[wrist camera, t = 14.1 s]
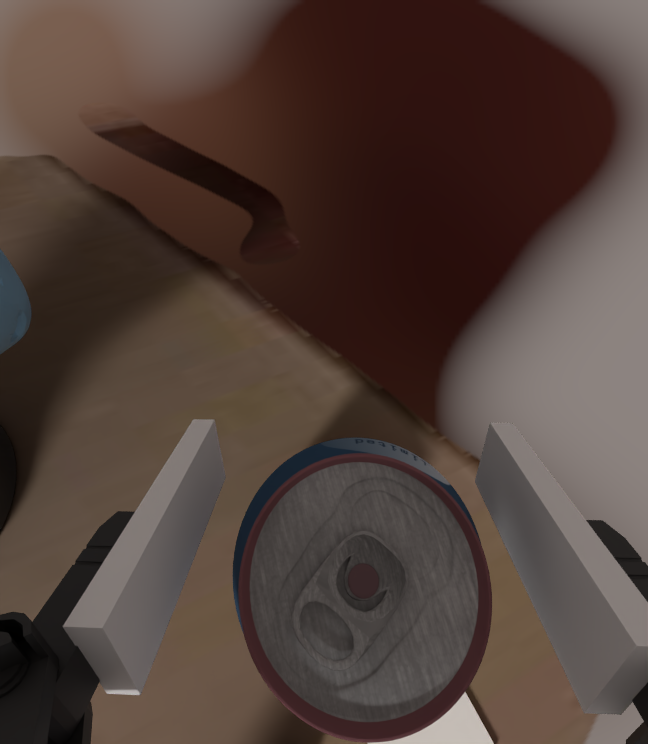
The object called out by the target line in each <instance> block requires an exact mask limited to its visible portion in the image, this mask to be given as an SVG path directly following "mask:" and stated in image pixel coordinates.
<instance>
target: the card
mask: <svg viewBox="0 0 648 744" xmlns="http://www.w3.org/2000/svg"><path fill="white" fill-rule="evenodd" d="M368 744H494V743H493V741H492V739H491V737H490V736H489V734H488V732H487V730H486V728H485V727H484V725H483V723H482V721H481V719H480V718H479V716H478V714H477V712H476V710H475V708H474V707H473V705H472V703H471V701H470V699H469V698H468V696H467V694H466V692H465V693H464V694H463V695H462V696H461V698H460V699H459V700H458V701H457V703H456V704H455V705H454V706H453V707H452V708H451V709H450V710H449V711H448V712H447V713H446V714H444V715H443V716H442V717H441V718H440V719H438V720H437V721H436V722H434V723H433V724H431V725H430V726H428V727H426V728H425V729H423V730H421V731H419V732H417V733H414V734H412V735H410V736H407V737H404V738H401V739H396V740H392V741H386V742H376V743H368Z"/></svg>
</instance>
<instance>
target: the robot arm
mask: <svg viewBox="0 0 648 744" xmlns="http://www.w3.org/2000/svg"><path fill="white" fill-rule="evenodd" d="M30 321H31V305H30V301H29V298H28V295H27V293H26V290H25V288H24V286H23V284H22V282H21V280H20V278H19V276H18V275H17V273H16V271H15V270H14V268H13V266H12V265H11V263H10V262H9V260H8V259H7V258H6V256H5V255H4V253H3V252H2V250H1V249H0V354H2V353H3V352H4V351H6V350H7V349H9V348H10V347H12V346H13V345H14V344H16V343H17V342H18V341H20V340H21V338H22V337H23V336H24V335H25V334H26V332H27V330H28V328H29V326H30ZM225 478H226V477H225V471H224V466H223V461H222V456H221V451H220V445H219V440H218V435H217V430H216V425H215V420H198V419H193V421H192V422H191V424H190V426H189V427H188V429H187V430H186V432H185V434H184V435H183V437H182V438H181V440H180V441H179V443H178V445H177V446H176V448H175V449H174V451H173V453H172V454H171V456H170V457H169V459H168V460H167V462H166V464H165V465H164V467H163V468H162V470H161V472H160V473H159V475H158V476H157V478H156V479H155V481H154V483H153V484H152V486H151V487H150V489H149V491H148V492H147V494H146V495H145V497H144V498H143V500H142V502H141V503H140V505H139V506H138V508H137V510H136V511H135V512H122V511H118V512H117V513H115V514H114V515H113V516H112V517H111V518H110V519H108V520H107V521H106V522H105V523H104V524H103V525H101V526H100V527H99V529H98V530H97V531H96V533H95V534H94V536H93V537H92V538H91V540H90V541H89V543H88V544H87V547H86V549H84V550H83V551H82V553H81V554H80V555H79V557H78V558H77V560H76V563H75V565H72V567H71V568H70V570H69V571H68V572H67V574H66V575H65V577H64V578H63V579H62V581H61V582H60V584H59V585H58V587H57V588H56V589H55V591H54V592H53V594H52V595H51V596H50V598H49V599H48V601H47V602H46V603H45V605H44V606H43V608H42V609H41V611H40V612H39V613H38V615H37V616H36V618H35V619H34V620H33V622H32V621H31V620H30V619H29V618H28V617H27V616H26V615H25V614H24V613H17V612H10V613H6V614H2V615H0V744H90V743H91V730H92V716H93V714H92V706H91V702H90V700H91V698H92V696H93V694H94V692H95V690H96V687H97V685H98V683H99V682H100V684H101V685H102V687H103V688H104V690H105V691H106V693H107V694H129V695H141V693H142V690H143V687H144V685H145V682H146V680H147V677H148V675H149V672H150V670H151V667H152V664H153V662H154V659H155V657H156V654H157V652H158V649H159V647H160V644H161V641H162V639H163V636H164V634H165V631H166V629H167V626H168V623H169V621H170V618H171V616H172V613H173V611H174V608H175V606H176V603H177V600H178V598H179V595H180V593H181V590H182V588H183V585H184V583H185V580H186V577H187V575H188V572H189V570H190V567H191V565H192V562H193V560H194V557H195V554H196V552H197V549H198V547H199V544H200V542H201V539H202V537H203V534H204V531H205V529H206V526H207V524H208V521H209V519H210V516H211V514H212V511H213V508H214V506H215V503H216V501H217V498H218V496H219V493H220V490H221V488H222V485H223V483H224V480H225ZM15 483H16V461H15V455H14V451H13V448H12V445H11V442H10V440H9V438H8V436H7V434H6V433H5V431H4V430H3V428H2V427H1V426H0V529H1V527H2V526H3V524H4V521H5V519H6V517H7V514H8V512H9V509H10V506H11V503H12V499H13V495H14V490H15ZM475 483H476V485H477V487H478V489H479V491H480V493H481V496H482V498H483V500H484V502H485V504H486V506H487V508H488V510H489V512H490V515H491V517H492V519H493V521H494V523H495V525H496V527H497V529H498V532H499V534H500V536H501V538H502V540H503V542H504V544H505V546H506V549H507V551H508V553H509V555H510V557H511V559H512V561H513V563H514V566H515V568H516V570H517V572H518V574H519V576H520V578H521V580H522V582H523V585H524V587H525V589H526V591H527V593H528V595H529V597H530V599H531V602H532V604H533V606H534V608H535V610H536V612H537V614H538V616H539V619H540V621H541V623H542V625H543V627H544V629H545V631H546V633H547V635H548V638H549V640H550V642H551V644H552V646H553V648H554V650H555V652H556V655H557V657H558V659H559V661H560V663H561V665H562V667H563V669H564V672H565V674H566V676H567V678H568V680H569V682H570V684H571V686H572V688H573V691H574V693H575V695H576V697H577V699H578V701H579V703H580V705H581V708H582V710H583V712H584V713H595V714H620V715H621V714H622V713H623V712H624V711H625V710H626V708H627V707H628V706H629V705H630V704H631V703H632V702H633V703H634V705H635V706H636V708H637V710H638V711H639V713H640V715H641V716H642V719H643V720H644V722H643V723H642V724H641V725H640V727H638V728H637V729H636V730H635V731H634V732H633V733H632V734H631V736H630V737H629V738H628V739H627V740H626V744H648V566H647V565H646V563H645V562H642V560H641V557H640V556H639V555H638V553H637V552H636V551H635V550H634V548H633V547H632V546H631V545H630V544H629V543H628V541H627V540H626V539H625V538H624V537H623V536H622V535H620V534H619V533H618V532H617V531H615V530H614V529H613V528H611V527H610V526H609V525H608V524H606V523H605V522H604V521H601V520H585V518H584V517H583V516H582V515H581V513H580V512H579V511H578V509H577V508H576V506H575V505H574V504H573V502H572V501H571V500H570V499H569V497H568V496H567V494H566V493H565V492H564V491H563V489H562V488H561V487H560V485H559V484H558V483H557V481H556V480H555V479H554V477H553V476H552V475H551V473H550V472H549V471H548V469H547V468H546V467H545V465H544V464H543V463H542V461H541V460H540V459H539V457H538V456H537V455H536V454H535V452H534V451H533V449H532V448H531V447H530V446H529V444H528V443H527V441H526V440H525V439H524V437H523V436H522V435H521V434H520V432H519V431H518V430H517V428H516V427H515V425H514V424H513V423H490V425H489V429H488V433H487V437H486V441H485V444H484V448H483V452H482V456H481V460H480V464H479V468H478V472H477V475H476V479H475Z"/></svg>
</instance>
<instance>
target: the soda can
mask: <svg viewBox="0 0 648 744" xmlns="http://www.w3.org/2000/svg"><path fill="white" fill-rule="evenodd" d="M233 590H234V599H235V605H236V610H237V614H238V618H239V622H240V625H241V628H242V631H243V633H244V637H245V640H246V643H247V646H248V649H249V652H250V654H251V657H252V659H253V661H254V663H255V665H256V667H257V669H258V671H259V673H260V674H261V676H262V678H263V680H264V681H265V683H266V684H267V685H268V687H269V688H270V690H271V691H272V692H273V693H274V695H275V696H276V697H277V698H278V699H279V700H280V701H281V703H282V704H283V705H284V706H285V707H286V708H287V709H289V710H290V711H291V712H292V713H293V714H294V715H296V716H297V717H298V718H300V719H301V720H302V721H304V722H305V723H307V724H308V725H310V726H312V727H313V728H315V729H317V730H319V731H321V732H323V733H326V734H328V735H331V736H334V737H337V738H340V739H344V740H349V741H354V742H365V743H376V742H386V741H392V740H396V739H401V738H404V737H407V736H410V735H412V734H414V733H417V732H419V731H421V730H423V729H425V728H426V727H428V726H430V725H431V724H433V723H434V722H436V721H437V720H438V719H440V718H441V717H442V716H443V715H444V714H446V713H447V712H448V711H449V710H450V709H451V708H452V707H453V706H454V705H455V704H456V703H457V701H458V700H459V699H460V698H461V696H462V695H463V694H464V693H465V691H466V690H467V688H468V687H469V685H470V683H471V682H472V680H473V678H474V676H475V675H476V672H477V670H478V668H479V666H480V664H481V661H482V658H483V655H484V653H485V649H486V645H487V642H488V637H489V632H490V625H491V616H492V592H491V582H490V576H489V570H488V566H487V561H486V558H485V555H484V551H483V549H482V546H481V542H480V539H479V536H478V533H477V530H476V527H475V525H474V522H473V520H472V518H471V516H470V514H469V512H468V510H467V508H466V506H465V504H464V503H463V501H462V500H461V498H460V497H459V495H458V494H457V492H456V491H455V490H454V488H453V487H452V486H451V485H450V484H449V482H448V481H447V480H446V479H445V478H444V477H443V476H442V475H441V474H440V473H439V472H438V471H437V470H436V469H435V468H434V467H432V466H431V465H430V464H429V463H427V462H426V461H425V460H423V459H422V458H420V457H419V456H417V455H415V454H414V453H412V452H410V451H408V450H406V449H404V448H402V447H399V446H397V445H394V444H391V443H388V442H384V441H380V440H375V439H369V438H342V439H335V440H330V441H326V442H322V443H319V444H316V445H314V446H311V447H309V448H307V449H305V450H303V451H301V452H299V453H297V454H296V455H294V456H293V457H291V458H290V459H288V460H287V461H286V462H284V463H283V464H282V465H281V466H279V467H278V468H277V469H276V470H275V471H274V472H273V473H272V474H271V475H270V476H269V477H268V479H267V480H266V481H265V482H264V484H263V485H262V486H261V487H260V489H259V490H258V492H257V493H256V495H255V496H254V498H253V500H252V502H251V503H250V505H249V507H248V509H247V511H246V514H245V516H244V518H243V521H242V524H241V527H240V530H239V533H238V537H237V541H236V546H235V552H234V561H233Z"/></svg>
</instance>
